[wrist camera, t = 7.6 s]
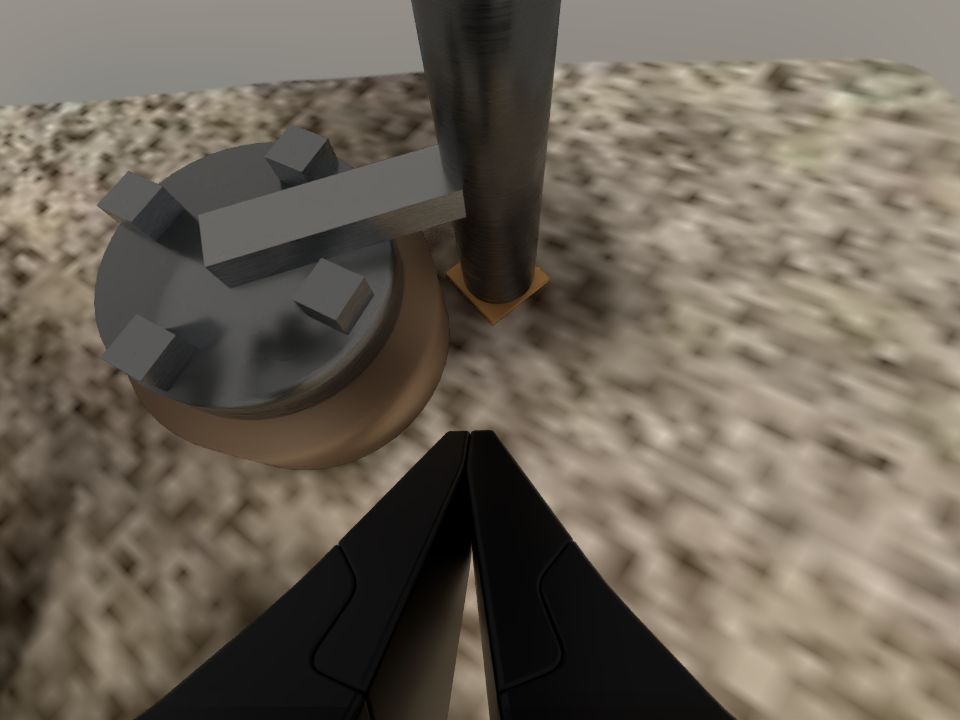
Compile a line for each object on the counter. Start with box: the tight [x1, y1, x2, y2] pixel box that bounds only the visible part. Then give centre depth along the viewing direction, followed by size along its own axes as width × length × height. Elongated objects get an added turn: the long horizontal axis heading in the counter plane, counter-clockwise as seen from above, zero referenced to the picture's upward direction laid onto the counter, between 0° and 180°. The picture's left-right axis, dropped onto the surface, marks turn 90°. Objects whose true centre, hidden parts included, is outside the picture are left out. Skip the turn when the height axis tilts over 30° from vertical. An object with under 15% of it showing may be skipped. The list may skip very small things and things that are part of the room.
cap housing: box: [128, 231, 549, 470], centre depth 18 cm, size 15×11×4 cm
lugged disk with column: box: [94, 0, 561, 420], centre depth 12 cm, size 14×9×15 cm, turn 108°
